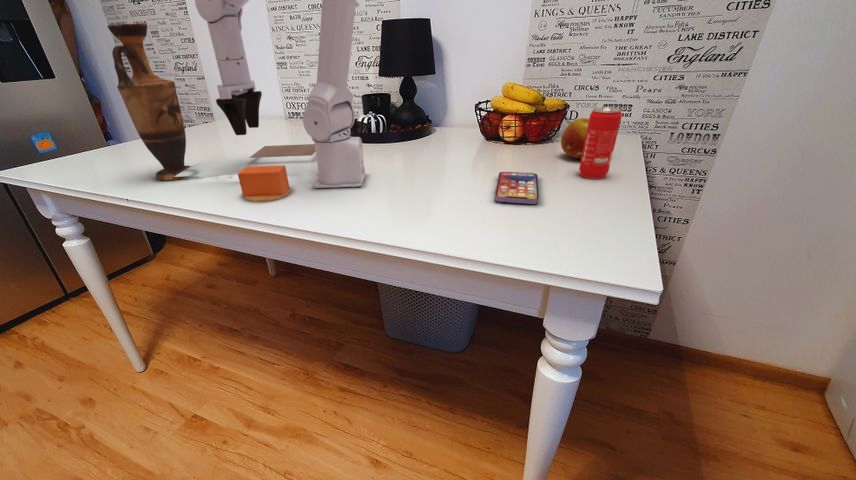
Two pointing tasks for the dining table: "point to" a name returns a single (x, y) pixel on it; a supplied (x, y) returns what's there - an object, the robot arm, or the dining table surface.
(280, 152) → the bread board
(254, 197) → the cork coaster
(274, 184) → the snack box
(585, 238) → the dining table surface
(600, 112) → the beverage can
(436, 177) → the dining table surface
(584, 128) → the fruit
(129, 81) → the vase
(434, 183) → the dining table surface
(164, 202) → the dining table surface
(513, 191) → the smartphone
